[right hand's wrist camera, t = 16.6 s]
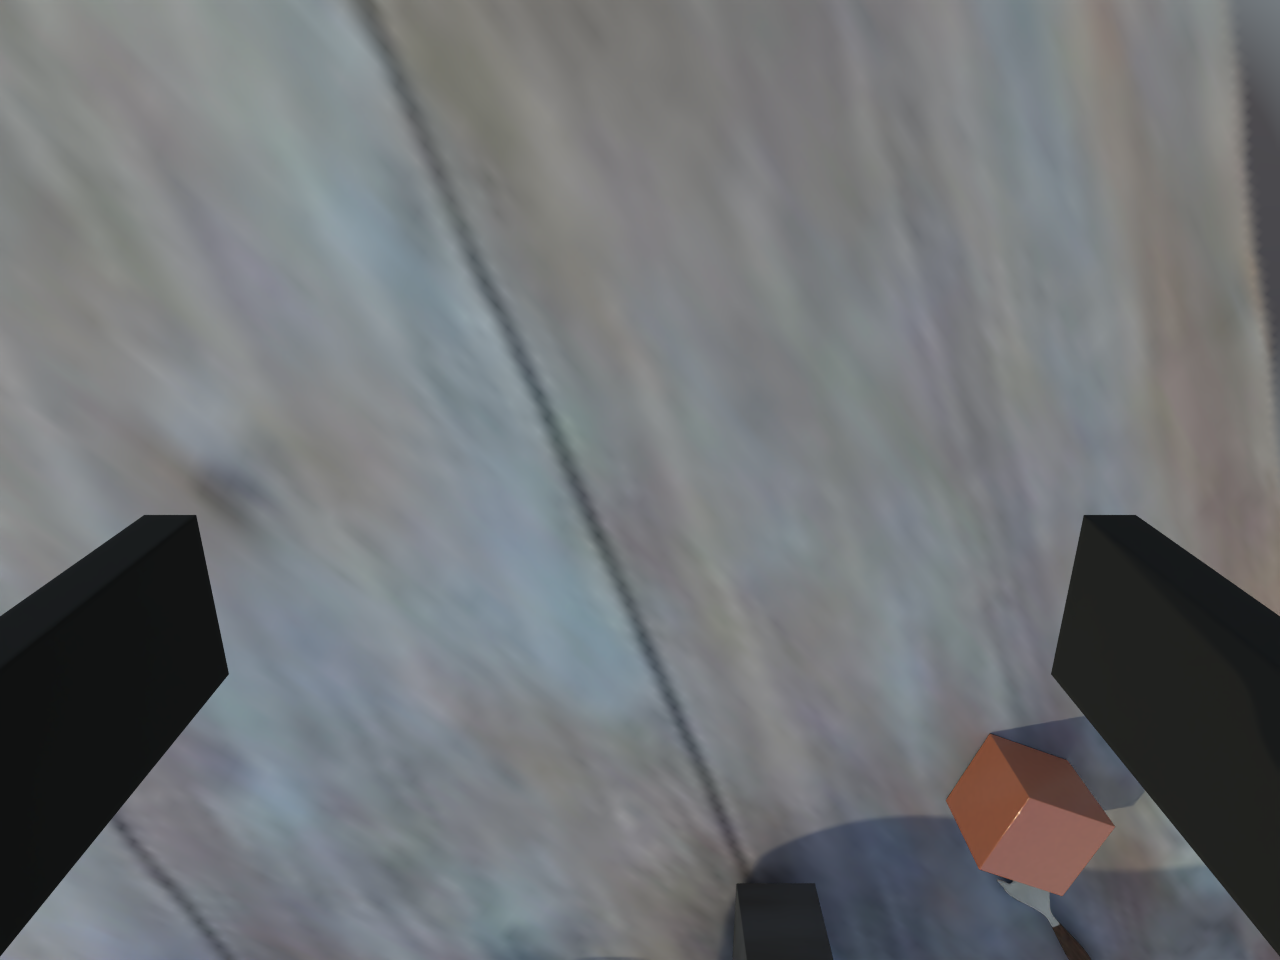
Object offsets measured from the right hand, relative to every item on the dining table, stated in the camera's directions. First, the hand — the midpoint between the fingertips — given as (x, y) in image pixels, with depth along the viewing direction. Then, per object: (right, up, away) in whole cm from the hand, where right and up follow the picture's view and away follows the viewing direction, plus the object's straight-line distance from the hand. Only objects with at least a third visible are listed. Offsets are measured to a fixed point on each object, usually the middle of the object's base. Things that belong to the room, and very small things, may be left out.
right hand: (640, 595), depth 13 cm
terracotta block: (+21, -15, +34) cm, 43 cm away
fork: (+26, -26, +38) cm, 53 cm away
